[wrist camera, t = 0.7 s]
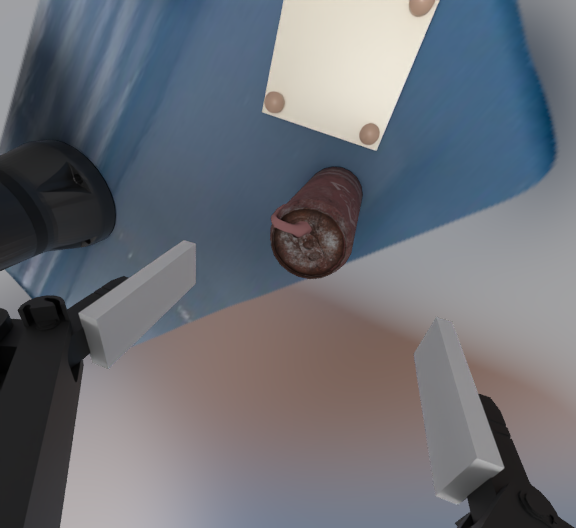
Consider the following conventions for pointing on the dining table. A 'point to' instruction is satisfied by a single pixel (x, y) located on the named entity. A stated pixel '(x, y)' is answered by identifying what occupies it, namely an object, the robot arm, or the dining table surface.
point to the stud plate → (344, 64)
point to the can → (318, 224)
